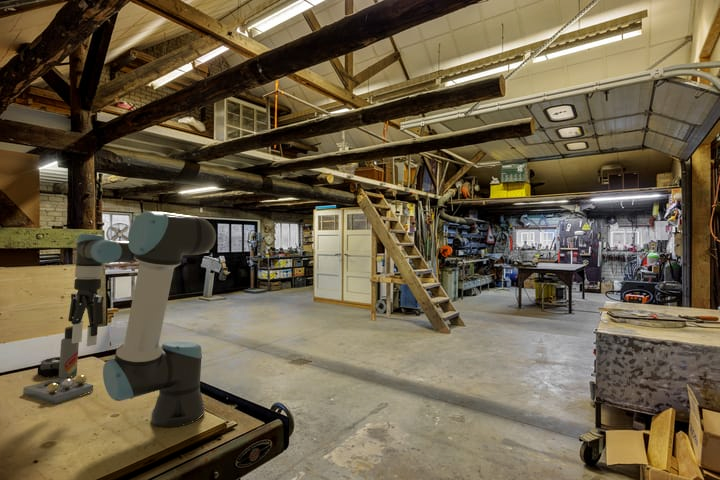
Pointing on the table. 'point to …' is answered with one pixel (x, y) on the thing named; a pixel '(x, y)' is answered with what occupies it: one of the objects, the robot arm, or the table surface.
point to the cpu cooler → (49, 367)
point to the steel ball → (67, 383)
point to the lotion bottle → (68, 355)
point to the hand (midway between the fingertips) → (83, 343)
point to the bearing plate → (61, 394)
